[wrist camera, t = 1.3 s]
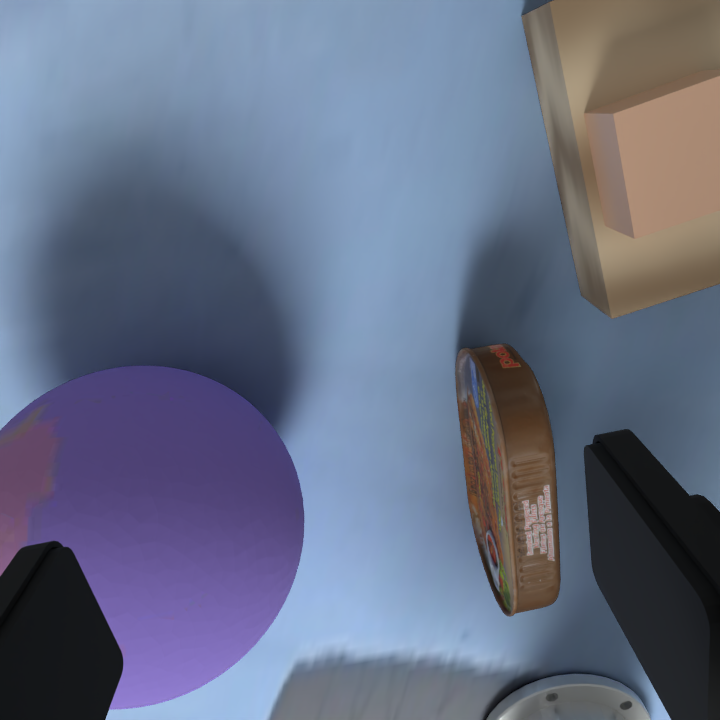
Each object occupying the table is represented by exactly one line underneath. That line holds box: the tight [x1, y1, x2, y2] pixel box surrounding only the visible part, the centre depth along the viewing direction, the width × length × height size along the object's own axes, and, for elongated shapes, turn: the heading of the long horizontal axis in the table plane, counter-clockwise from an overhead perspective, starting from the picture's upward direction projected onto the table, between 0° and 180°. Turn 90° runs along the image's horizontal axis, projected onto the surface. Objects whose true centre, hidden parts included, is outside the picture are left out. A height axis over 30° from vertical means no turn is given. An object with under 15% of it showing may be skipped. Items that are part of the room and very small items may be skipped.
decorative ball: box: [0, 366, 304, 709], centre depth 29 cm, size 15×15×15 cm
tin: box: [455, 344, 561, 616], centre depth 33 cm, size 15×3×8 cm, turn 9°
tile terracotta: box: [584, 69, 720, 239], centre depth 25 cm, size 5×5×3 cm
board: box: [521, 0, 720, 319], centre depth 28 cm, size 14×14×4 cm
